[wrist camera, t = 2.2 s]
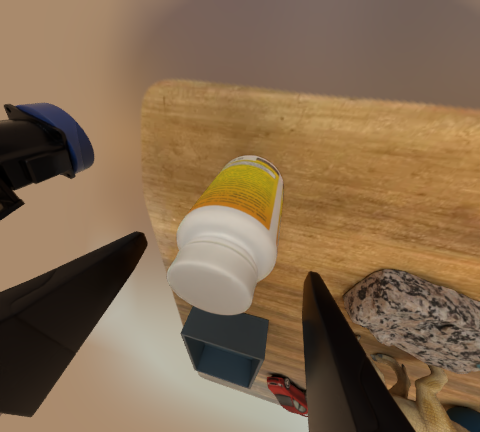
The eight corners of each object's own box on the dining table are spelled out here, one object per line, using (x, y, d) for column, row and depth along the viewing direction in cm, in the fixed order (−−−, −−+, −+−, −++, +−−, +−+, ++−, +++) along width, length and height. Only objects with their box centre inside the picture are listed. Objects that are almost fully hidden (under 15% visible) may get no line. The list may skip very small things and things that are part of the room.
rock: (512, 306, 17) (568, 366, 13) (426, 335, 22) (450, 382, 19) (383, 258, 17) (406, 304, 14) (330, 298, 23) (336, 338, 19)
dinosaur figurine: (305, 318, 27) (311, 468, 16) (544, 370, 21) (784, 654, 11) (297, 338, 31) (298, 465, 21) (492, 386, 26) (624, 594, 15)
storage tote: (195, 299, 32) (180, 333, 28) (268, 320, 30) (264, 360, 26) (203, 342, 45) (194, 370, 41) (254, 358, 44) (250, 389, 39)
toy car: (295, 392, 53) (295, 417, 49) (266, 372, 48) (263, 398, 44) (313, 395, 50) (315, 421, 46) (284, 373, 45) (283, 401, 41)
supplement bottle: (210, 164, 15) (122, 253, 8) (274, 143, 13) (242, 239, 5) (235, 215, 18) (189, 320, 10) (291, 205, 16) (286, 329, 8)
